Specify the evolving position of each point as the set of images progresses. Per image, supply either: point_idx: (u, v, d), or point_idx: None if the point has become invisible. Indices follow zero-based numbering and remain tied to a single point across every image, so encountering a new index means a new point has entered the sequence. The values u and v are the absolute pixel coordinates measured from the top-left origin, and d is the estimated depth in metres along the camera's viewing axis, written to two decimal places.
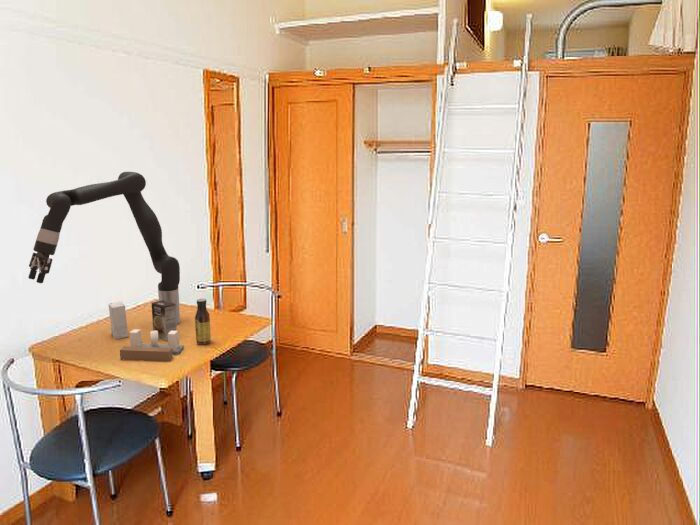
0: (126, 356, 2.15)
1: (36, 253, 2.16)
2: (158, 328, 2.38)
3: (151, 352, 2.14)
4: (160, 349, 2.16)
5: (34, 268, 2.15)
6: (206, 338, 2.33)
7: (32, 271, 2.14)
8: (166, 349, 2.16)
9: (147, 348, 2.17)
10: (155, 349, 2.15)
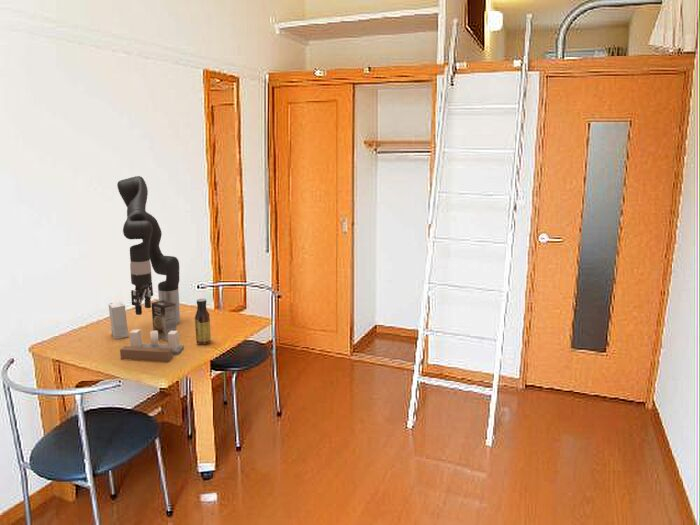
0: (126, 355, 2.16)
1: (135, 290, 2.05)
2: (158, 328, 2.38)
3: (150, 352, 2.14)
4: (159, 349, 2.16)
5: None
6: (206, 338, 2.33)
7: None
8: (165, 350, 2.16)
9: (147, 348, 2.16)
10: (155, 350, 2.15)
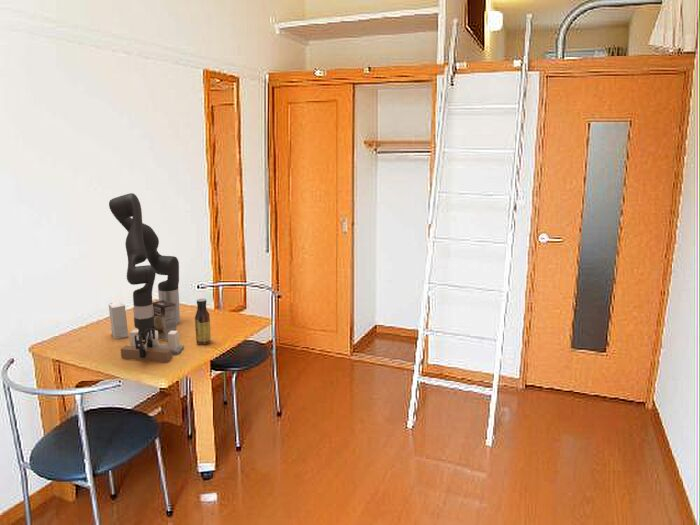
0: (126, 355, 2.16)
1: (139, 335, 2.09)
2: (158, 328, 2.38)
3: (150, 352, 2.14)
4: (159, 349, 2.16)
5: None
6: (206, 338, 2.33)
7: None
8: (165, 350, 2.15)
9: (147, 348, 2.16)
10: (154, 350, 2.15)
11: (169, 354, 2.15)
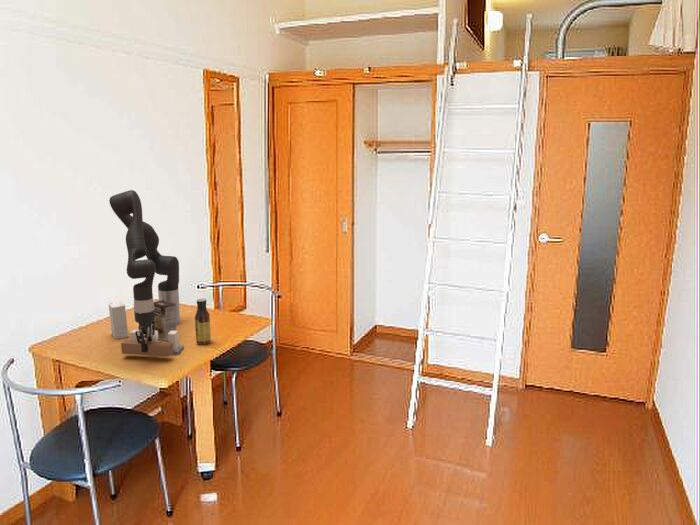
0: (127, 349, 2.15)
1: (139, 331, 2.08)
2: (158, 328, 2.38)
3: (151, 346, 2.14)
4: (160, 343, 2.15)
5: None
6: (206, 338, 2.33)
7: None
8: (166, 344, 2.15)
9: (147, 342, 2.16)
10: (155, 344, 2.15)
11: (170, 348, 2.15)
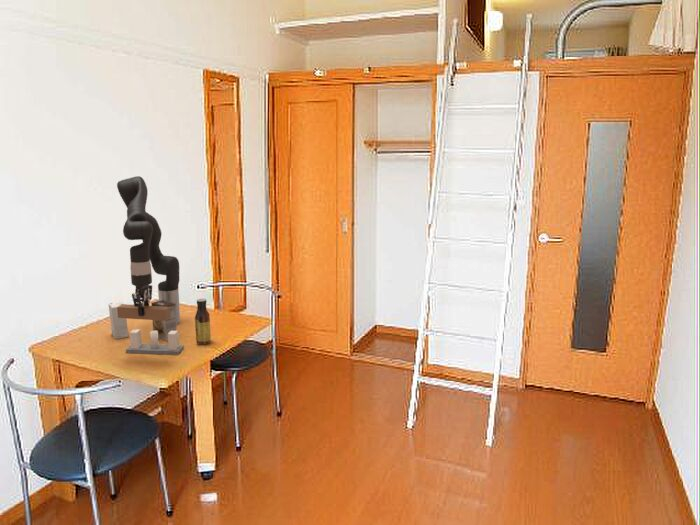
0: (123, 313, 2.12)
1: (136, 293, 2.05)
2: (158, 328, 2.38)
3: (147, 309, 2.10)
4: (157, 307, 2.12)
5: None
6: (206, 338, 2.33)
7: None
8: (163, 308, 2.12)
9: (144, 306, 2.13)
10: (152, 307, 2.11)
11: (167, 312, 2.12)
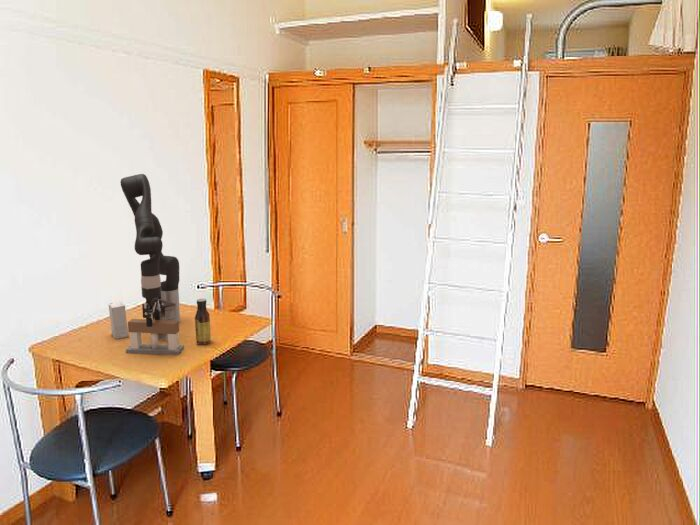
0: (134, 327, 2.22)
1: (146, 303, 2.15)
2: None
3: (157, 324, 2.21)
4: (166, 321, 2.23)
5: None
6: (206, 338, 2.33)
7: None
8: (172, 322, 2.22)
9: (154, 321, 2.23)
10: (162, 322, 2.22)
11: (176, 325, 2.22)
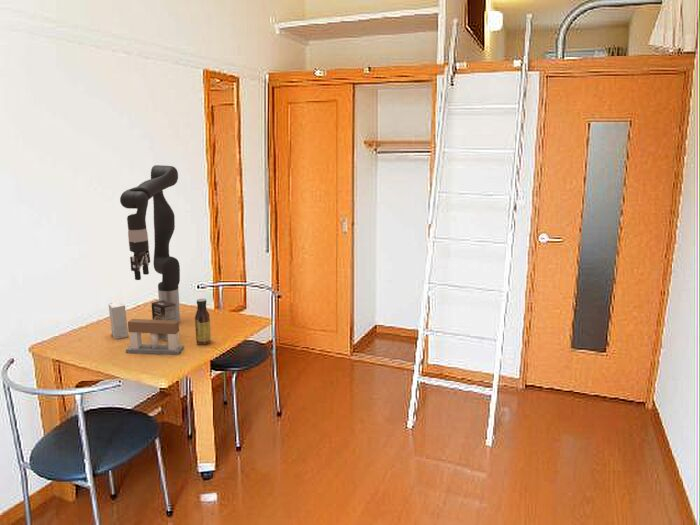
0: (134, 327, 2.22)
1: (134, 256, 2.18)
2: None
3: (157, 324, 2.21)
4: (166, 321, 2.23)
5: None
6: (206, 338, 2.33)
7: None
8: (172, 322, 2.22)
9: (154, 321, 2.23)
10: (162, 322, 2.22)
11: (176, 325, 2.22)
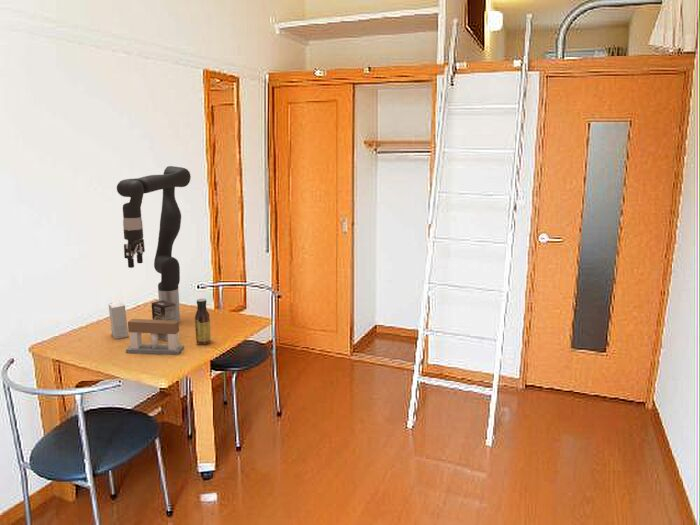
0: (134, 327, 2.22)
1: (128, 244, 2.21)
2: None
3: (157, 324, 2.21)
4: (166, 321, 2.23)
5: None
6: (206, 338, 2.33)
7: None
8: (172, 322, 2.22)
9: (154, 321, 2.23)
10: (162, 322, 2.22)
11: (176, 325, 2.22)
